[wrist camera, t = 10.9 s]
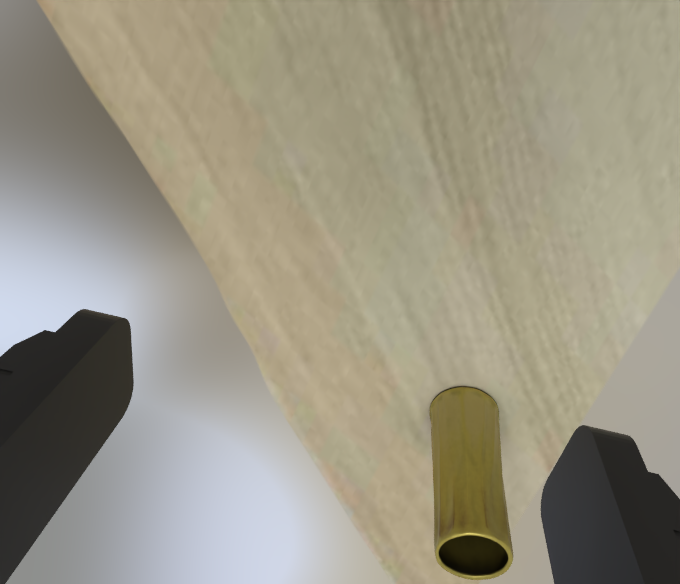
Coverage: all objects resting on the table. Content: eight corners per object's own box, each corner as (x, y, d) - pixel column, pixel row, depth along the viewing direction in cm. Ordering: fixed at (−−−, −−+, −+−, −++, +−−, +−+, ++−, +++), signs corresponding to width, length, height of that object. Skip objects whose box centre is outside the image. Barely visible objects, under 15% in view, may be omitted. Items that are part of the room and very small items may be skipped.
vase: (484, 442, 50) (500, 593, 38) (421, 426, 50) (417, 570, 38) (508, 396, 47) (534, 543, 35) (441, 378, 47) (443, 519, 35)
